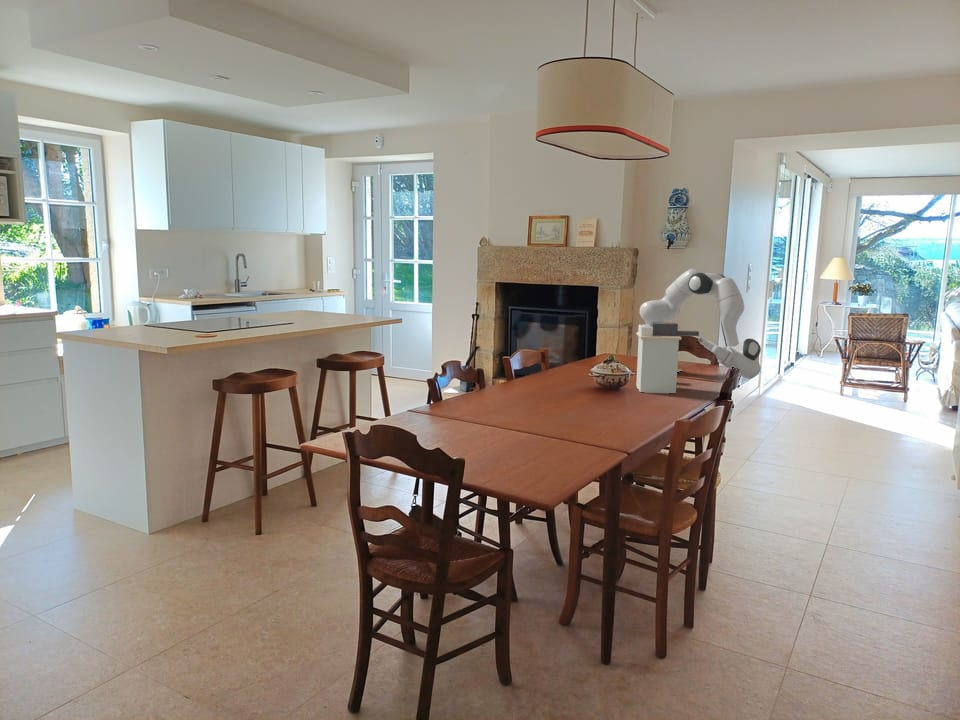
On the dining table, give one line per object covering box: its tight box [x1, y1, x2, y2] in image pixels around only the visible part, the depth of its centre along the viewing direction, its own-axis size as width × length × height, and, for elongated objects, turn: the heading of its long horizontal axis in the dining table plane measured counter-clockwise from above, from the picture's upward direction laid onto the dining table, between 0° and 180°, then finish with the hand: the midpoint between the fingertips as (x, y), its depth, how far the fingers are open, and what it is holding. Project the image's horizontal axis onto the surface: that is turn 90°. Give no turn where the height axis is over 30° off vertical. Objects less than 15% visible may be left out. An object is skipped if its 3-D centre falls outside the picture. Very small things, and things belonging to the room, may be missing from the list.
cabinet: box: [635, 331, 683, 394], centre depth 318 cm, size 18×18×26 cm
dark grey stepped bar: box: [651, 321, 700, 337], centre depth 315 cm, size 24×7×6 cm, turn 84°
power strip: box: [637, 323, 653, 336], centre depth 317 cm, size 5×12×4 cm, turn 174°
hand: (700, 340), depth 315 cm, fingers open, 8 cm apart
